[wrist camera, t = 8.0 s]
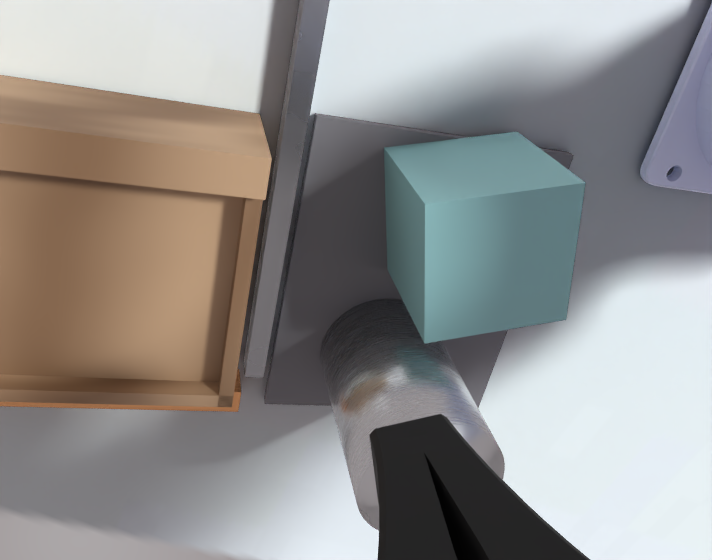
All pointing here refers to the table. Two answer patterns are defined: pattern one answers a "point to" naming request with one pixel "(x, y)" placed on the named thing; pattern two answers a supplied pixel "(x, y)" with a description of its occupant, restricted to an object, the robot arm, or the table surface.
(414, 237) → the part
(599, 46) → the table surface
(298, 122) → the track
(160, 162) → the brown wooden tray
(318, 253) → the mat
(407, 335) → the part
